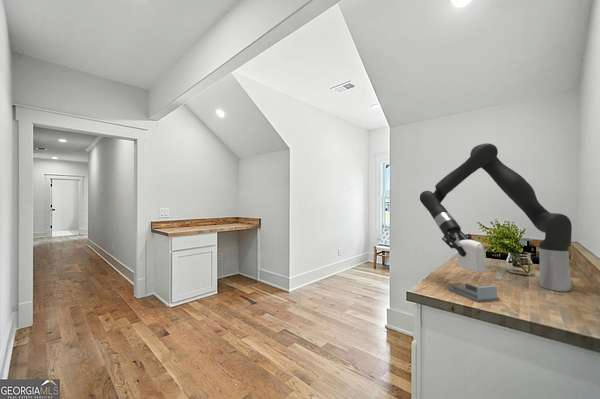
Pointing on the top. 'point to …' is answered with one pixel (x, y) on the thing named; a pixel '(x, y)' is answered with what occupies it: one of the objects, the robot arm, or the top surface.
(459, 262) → the photo printer
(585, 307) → the top surface
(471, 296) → the charging dock
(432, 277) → the top surface
